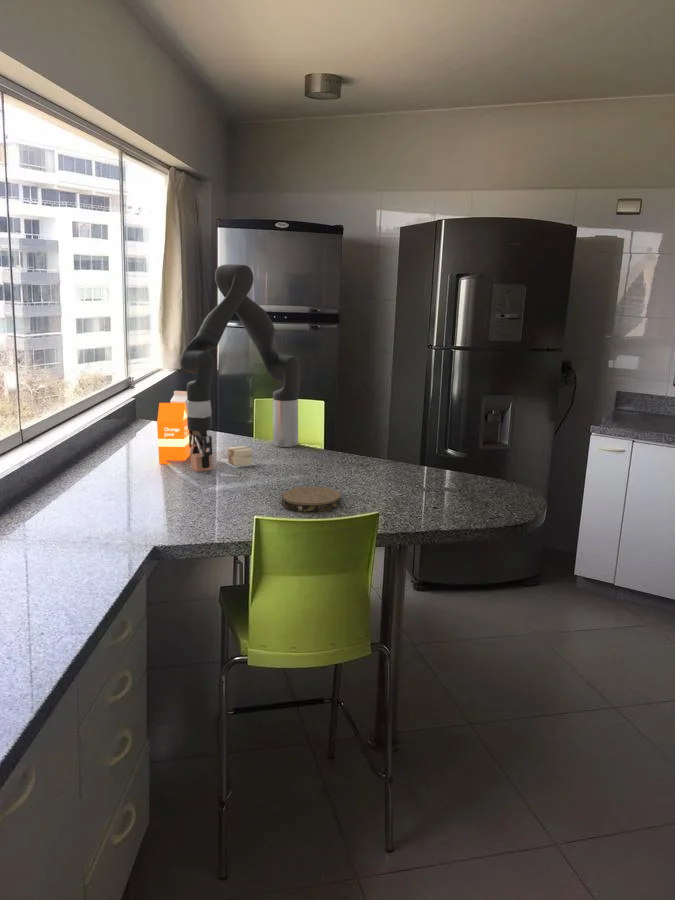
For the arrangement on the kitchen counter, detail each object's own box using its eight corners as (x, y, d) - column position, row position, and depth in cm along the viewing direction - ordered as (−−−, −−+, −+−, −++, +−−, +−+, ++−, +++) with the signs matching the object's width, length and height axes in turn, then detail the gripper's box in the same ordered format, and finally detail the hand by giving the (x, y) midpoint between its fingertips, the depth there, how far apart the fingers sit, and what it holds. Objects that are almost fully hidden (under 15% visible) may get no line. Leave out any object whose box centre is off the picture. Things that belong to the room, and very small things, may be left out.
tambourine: (352, 505, 196) (352, 495, 195) (308, 518, 185) (308, 507, 184) (313, 493, 207) (313, 483, 206) (270, 504, 196) (270, 494, 196)
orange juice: (185, 464, 238) (182, 405, 233) (158, 464, 238) (155, 404, 234) (190, 458, 246) (187, 401, 241) (164, 458, 246) (161, 400, 241)
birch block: (228, 462, 235) (227, 447, 234) (245, 460, 238) (244, 445, 237) (235, 466, 230) (234, 451, 229) (252, 464, 233) (252, 449, 232)
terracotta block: (191, 472, 228) (190, 454, 227) (206, 470, 231) (205, 452, 229) (196, 476, 224) (196, 457, 223) (212, 473, 226) (211, 455, 225)
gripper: (180, 412, 227) (182, 461, 231) (195, 419, 215) (197, 471, 219) (202, 410, 231) (204, 459, 234) (219, 417, 219) (220, 468, 222)
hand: (201, 464), depth 226 cm, fingers open, 8 cm apart
